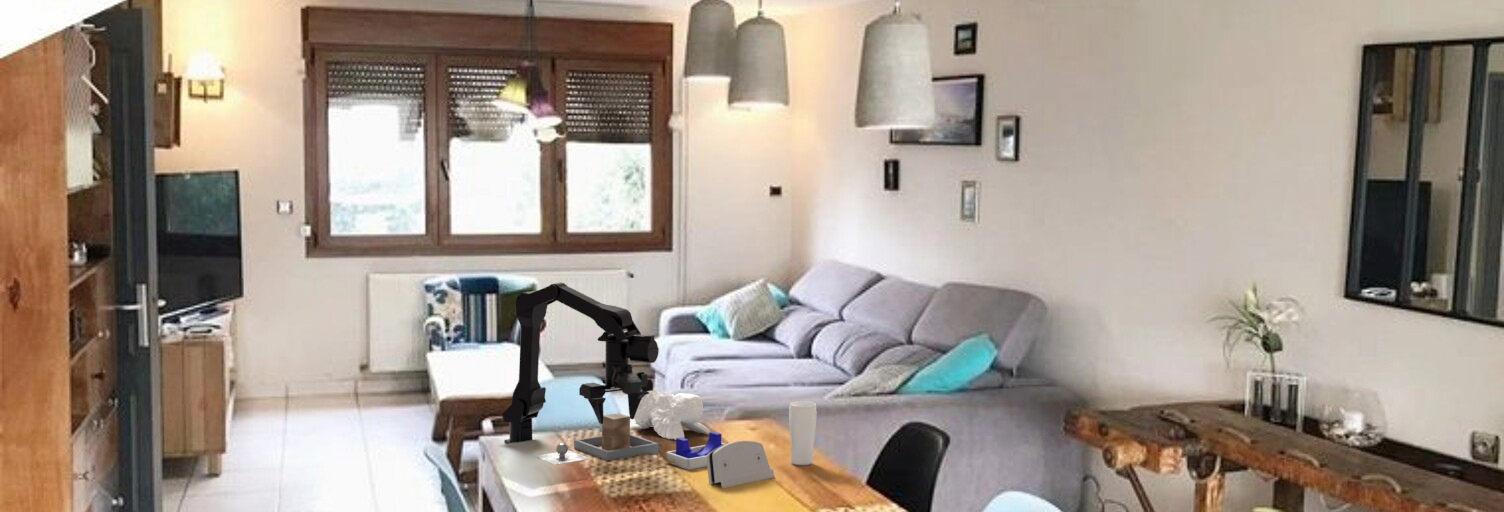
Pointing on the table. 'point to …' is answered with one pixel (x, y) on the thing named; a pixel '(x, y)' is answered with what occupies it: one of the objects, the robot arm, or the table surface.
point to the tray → (636, 448)
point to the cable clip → (711, 444)
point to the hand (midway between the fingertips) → (616, 421)
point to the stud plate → (561, 456)
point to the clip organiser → (686, 462)
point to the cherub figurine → (670, 413)
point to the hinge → (738, 464)
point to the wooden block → (615, 432)
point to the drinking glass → (802, 431)
